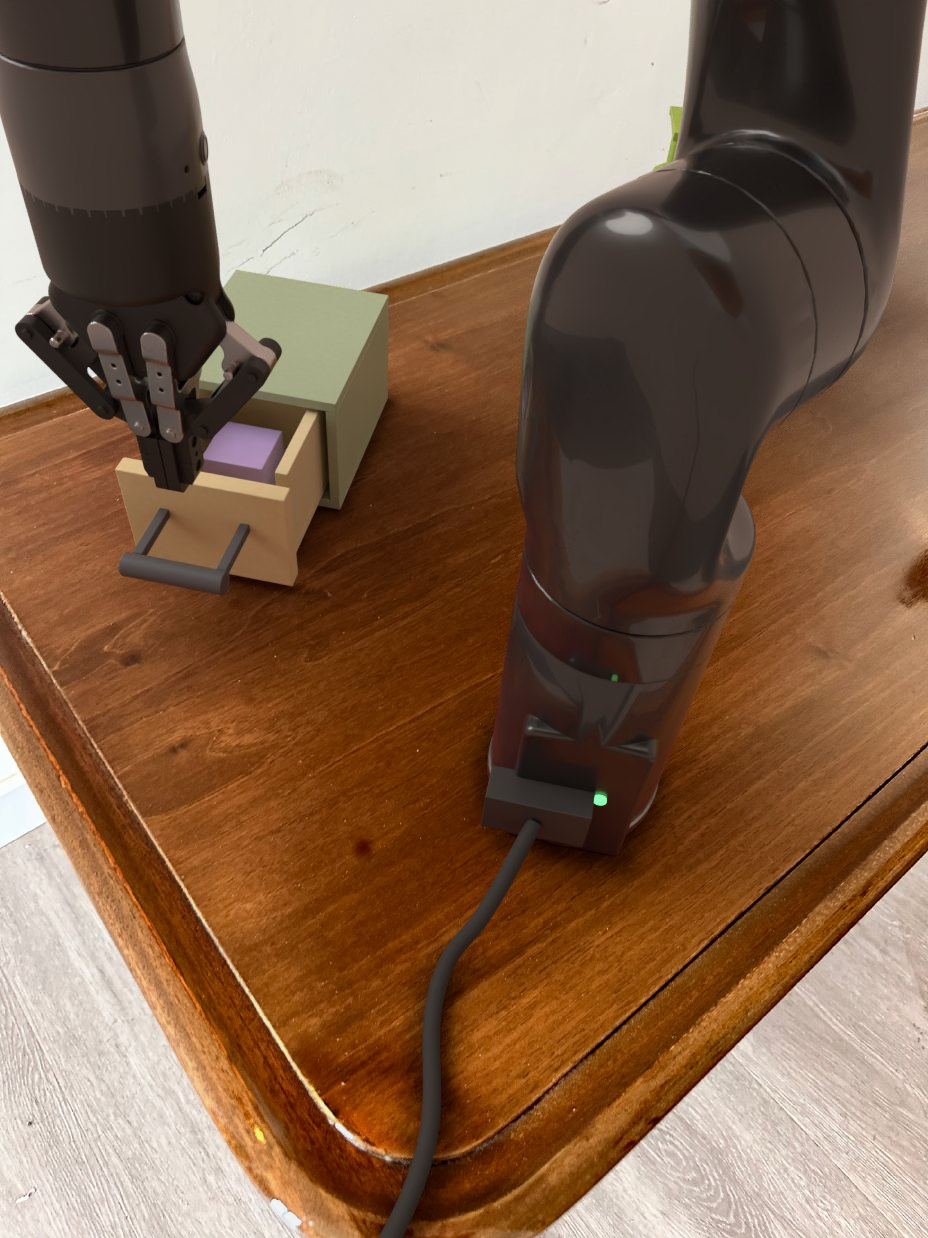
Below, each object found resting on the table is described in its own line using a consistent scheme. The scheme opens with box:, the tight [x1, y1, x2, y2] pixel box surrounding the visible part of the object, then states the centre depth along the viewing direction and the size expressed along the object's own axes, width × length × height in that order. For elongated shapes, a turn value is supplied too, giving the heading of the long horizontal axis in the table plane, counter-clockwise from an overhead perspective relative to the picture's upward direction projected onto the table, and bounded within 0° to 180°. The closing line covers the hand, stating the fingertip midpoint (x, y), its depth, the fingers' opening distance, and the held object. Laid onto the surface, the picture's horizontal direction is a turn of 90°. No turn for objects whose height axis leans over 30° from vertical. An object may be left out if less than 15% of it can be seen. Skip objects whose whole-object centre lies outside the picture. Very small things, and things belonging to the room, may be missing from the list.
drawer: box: [114, 389, 329, 596], centre depth 60 cm, size 18×10×7 cm, turn 169°
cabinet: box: [199, 269, 390, 510], centre depth 67 cm, size 13×11×9 cm
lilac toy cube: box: [203, 422, 284, 485], centre depth 62 cm, size 4×4×4 cm
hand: (178, 480), depth 52 cm, fingers closed
